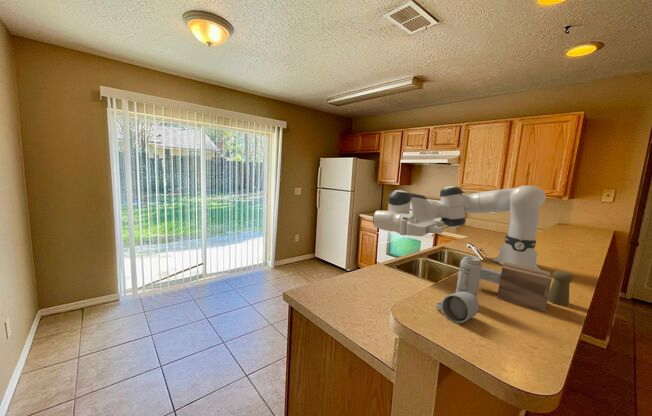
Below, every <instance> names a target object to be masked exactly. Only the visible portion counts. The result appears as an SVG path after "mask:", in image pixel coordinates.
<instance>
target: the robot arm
mask: <svg viewBox="0 0 652 416" xmlns="http://www.w3.org/2000/svg"><path fill="white" fill-rule="evenodd" d="M439 193H440V194H439V197H440V202H439V201H438V200H433V199H429V200H428V198H427V197H426V196H425V195H422V194H418V193H411V192H408V191H405V190H401V189H396V190H392V191H391V192H390V193H389V194H388V195H387V197H388V209H387V210H376V211H374V213H373V217H372V224H373V226H374V227H375V228H377V229H378V230H379V229H380V230H383V231H387V232H395V233H397V234H399V236H410V237H411V236H412V237H424V236H426V235H428V234H430V233H432V234H443V233H444V229H445V228H443V227H439V226H438V222H437V221H434V220H436V219H440V222H441V223H443V224H444V225H445V226H447V227H450V228H459V227H461V226H464V225H465V224H466V220H467V219H466V213H467V214H486V213H487V214H488V213H500V212H509V222H508V228H507V232H506V233H507V234H506V236H505V237H504V243H503V244H502V245H500V246H499V252H498V256H496V257H494V258H493V259H492V261H493V262H495V263H497V262H498V264H500V265H501V266H503V264H504V262H508V263H513V264H517V265H522V266H526V267H531V268H535V269H540V270H541V268H540V267H539V266H538V265H537V262H538V254H539V253H538V252H537V251H536V249H535V248H536V245H537V240H536V237H537V233H538V227H539V211H540V207H542V206H543V205H544V204H545V202H546V199H547V196H546V193H545V191H544V189H542V187H539V186H536V185H535V186H534V185H519V186H517V187H513V188H512V187H511V188H503V189H501V188H500V189H494V190H487V191H480V192H479V191H478V192H474V193H469V194H467V195H466V191H463V190H462V188H460V187H459V186H455V185H453V186H452V185H448V186H445V187H444V188H441V190H440V191H439ZM464 194H465V195H464ZM410 210H411V211H410ZM410 213H411V214H410Z"/></svg>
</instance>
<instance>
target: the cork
mask: <svg viewBox="0 0 652 416" xmlns="http://www.w3.org/2000/svg"><path fill="white" fill-rule="evenodd" d="M552 279H553V281H552V282H551V285H550V290H549V295H548V300H547V302H549V303H552V304H553V305H557V306H561V307H569V306H570V287H571V286H570V283H572V282H573V280H574V276H573V274H572V273H570V272H568V271H564V270H560V269H559V270H555V271H553V273H552Z"/></svg>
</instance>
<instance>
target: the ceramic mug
mask: <svg viewBox="0 0 652 416" xmlns="http://www.w3.org/2000/svg"><path fill="white" fill-rule="evenodd" d="M435 305H436V309H437V310H438V311H442V312H443V314H444V316H445V317H446V318H447V319H448V320H449V321H451V322H452V321H453V322H452V323H455V324H463V323H465V322H468V320H470V319H472V318H474V317H475V316H476V315H477V314H478V312H479V309H480V303H479V300H478V298H476V297H475V296H474V295H472V294H471V293H468V292H457V293H456V292H454V293H450V294H448V295H446V296H444V298H443V299H442V301H441V302H438V303H436V304H435Z"/></svg>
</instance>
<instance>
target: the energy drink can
mask: <svg viewBox="0 0 652 416" xmlns="http://www.w3.org/2000/svg"><path fill="white" fill-rule="evenodd" d="M481 260H482V259H480V258H478V257H476V256H471V255H463V258H462V259H461V260H460V263H459V270H458V276H457V280H456V281H457V283H456V288H455V293H457V292H468V293H471V294H472V295H474V296H475V297H476V299H478V298H477V297H478V292H479V285H480V280H481V279H480V274H481V268H482V267H483V265H482V263H481Z"/></svg>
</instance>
